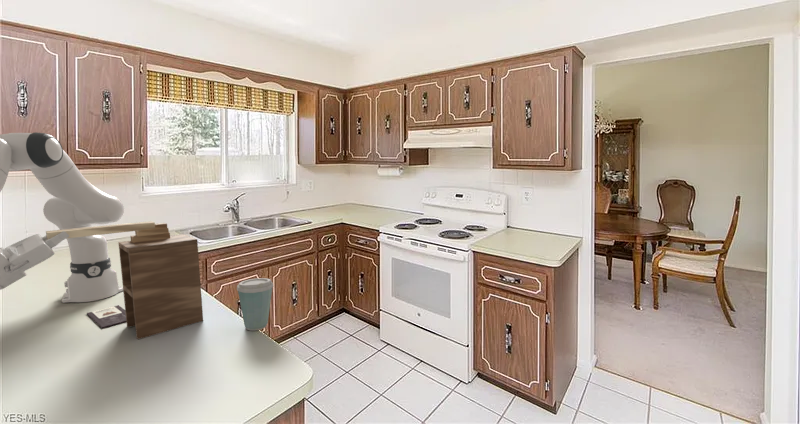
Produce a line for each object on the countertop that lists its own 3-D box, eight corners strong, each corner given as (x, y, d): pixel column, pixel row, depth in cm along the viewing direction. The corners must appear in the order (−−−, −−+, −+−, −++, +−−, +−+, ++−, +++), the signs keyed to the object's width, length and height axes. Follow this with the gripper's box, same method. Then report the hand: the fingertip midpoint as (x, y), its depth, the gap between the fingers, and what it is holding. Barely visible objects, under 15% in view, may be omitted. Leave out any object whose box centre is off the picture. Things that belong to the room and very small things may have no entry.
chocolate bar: (102, 327, 117) (86, 312, 128) (102, 330, 117) (87, 315, 129) (135, 318, 124) (118, 305, 135) (136, 320, 124) (118, 307, 135)
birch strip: (46, 238, 100) (45, 231, 100) (151, 227, 117) (151, 221, 117) (48, 240, 98) (47, 232, 97) (155, 228, 115) (154, 222, 115)
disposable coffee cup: (233, 326, 119) (230, 280, 117) (266, 316, 126) (264, 273, 124) (247, 337, 111) (244, 288, 109) (281, 326, 119) (279, 280, 117)
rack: (126, 326, 119) (116, 227, 115) (189, 310, 132) (182, 220, 128) (137, 339, 110) (127, 232, 106) (203, 320, 123) (196, 224, 119)
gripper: (-6, 264, 85) (61, 227, 93) (-7, 250, 99) (52, 219, 107) (17, 284, 88) (80, 246, 96) (13, 268, 102) (69, 236, 110)
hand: (65, 232), depth 101 cm, fingers closed on birch strip, 3 cm apart
